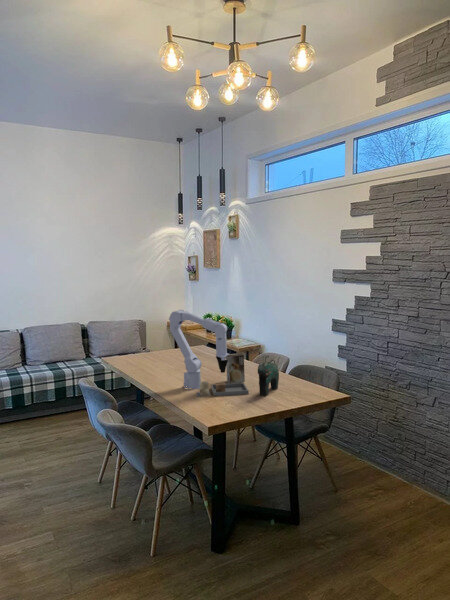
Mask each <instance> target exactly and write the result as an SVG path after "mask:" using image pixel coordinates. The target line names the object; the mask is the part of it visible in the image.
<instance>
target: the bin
mask: <svg viewBox="0 0 450 600" xmlns="http://www.w3.org/2000/svg"><path fill="white" fill-rule="evenodd" d="M211 392H212V395H213V397H223V396H225V397H227V396H241V395H242V396H243V395H244V396H245V395H249V394H250V392H249V388H248V387H247V385H246V384H245V382H239V383H225V392H216V384H211Z"/></svg>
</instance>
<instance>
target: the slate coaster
mask: <svg viewBox="0 0 450 600" xmlns="http://www.w3.org/2000/svg"><path fill="white" fill-rule="evenodd" d="M211 395H212V394H211V391H209V395H202V396H200V391H199V392H196V396H197V397H196V398H199V397H200V398H201V397H211Z"/></svg>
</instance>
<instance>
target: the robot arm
mask: <svg viewBox="0 0 450 600" xmlns="http://www.w3.org/2000/svg"><path fill="white" fill-rule="evenodd" d="M168 320H169V329H170V333H171V334H172V336H173V339H174V341H175V342H176V344H177V346H178V347H179V349H180V352H181V354H182V355H183V358H184V365H185V369H186V372H183V386H184V387H185V388H192V389H191V390H200V382H202V378H201V377H202V374H201V372H202V371H201V367H202V365H203V363H202V361H201V359H200V358H198V357H197V355H196V354H195V353H194V352H193V350H192V348H191V347H190V345H189V343H188V341H187V339H186V337H185V335H184V333H183V331H182V329H181V327H182V324H183V322H184V321H185V322H186V321H190V322H193V323H196V324H198V325H200V326H202V328H204V329H206V330H208V331H210V332H213V333H215V347H216V348H215V349H216V350H215V351H216V354H215V355H216V356H215V358H216V360H217V364H218V367H219V368H218V369H219V370H220V373H221V374H223V373H226V371H227V368H226V365H227V362H228V360H226V356H227V355H229V354H230V353H228V347H227V346H228V345H227V344H228V342H227V332H228V326H227V324H226V323H224V322H220V321H215V320H214V319H212V318H211V317H206V318H202V317H201V316H198V315H195V314H193V313H191V312H189V311H187V310H184V309H178V310H174V311H172V312H171V313H170V316H169V317H168ZM186 386H187V387H186ZM185 388H184V389H185Z"/></svg>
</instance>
